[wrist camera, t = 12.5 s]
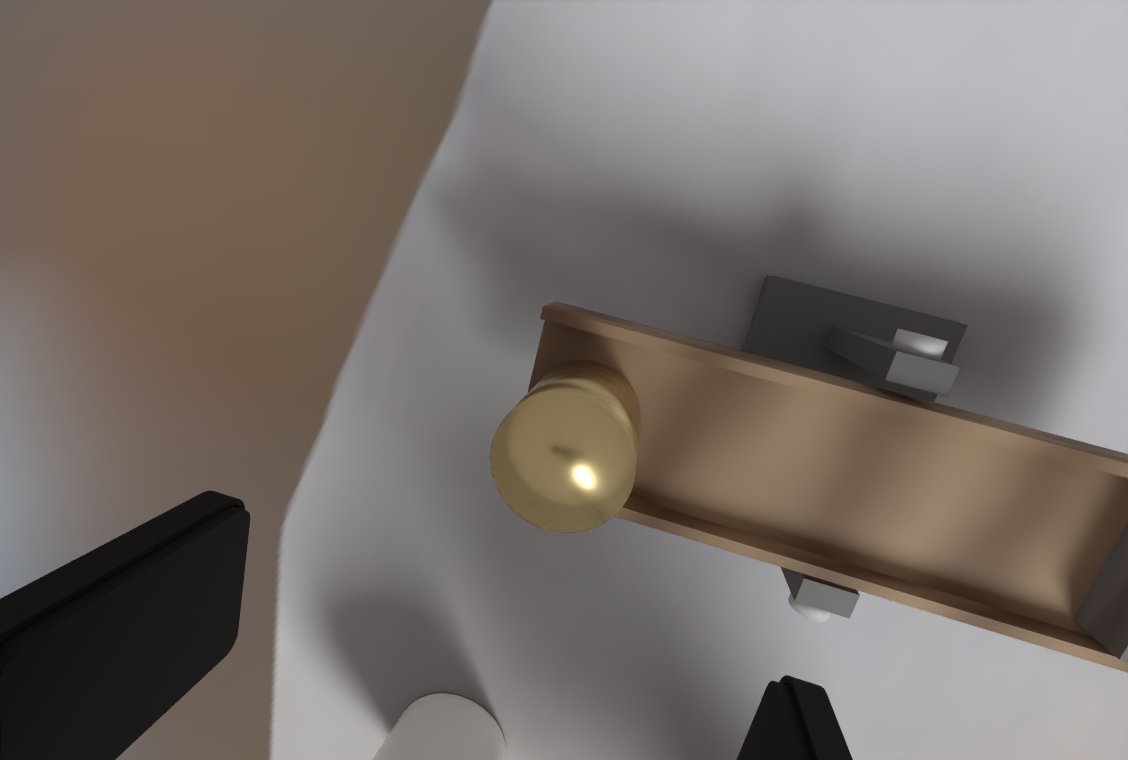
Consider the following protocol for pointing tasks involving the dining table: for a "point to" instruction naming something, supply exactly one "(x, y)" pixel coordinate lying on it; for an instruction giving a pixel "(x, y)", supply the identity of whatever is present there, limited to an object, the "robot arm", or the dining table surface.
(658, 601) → the dining table surface
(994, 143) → the dining table surface
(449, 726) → the candle holder
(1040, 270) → the dining table surface
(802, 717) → the robot arm
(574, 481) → the brass weight
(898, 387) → the beam stand
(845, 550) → the balance beam
